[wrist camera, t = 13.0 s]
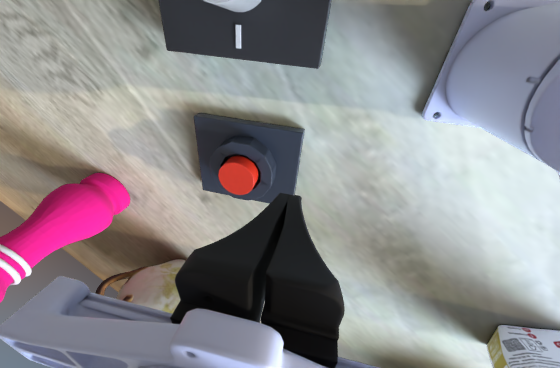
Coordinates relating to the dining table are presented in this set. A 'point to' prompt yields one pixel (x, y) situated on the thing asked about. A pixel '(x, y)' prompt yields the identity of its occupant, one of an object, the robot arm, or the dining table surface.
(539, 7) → the robot arm
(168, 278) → the sugar bowl
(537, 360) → the juice carton
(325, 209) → the dining table surface
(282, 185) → the button block
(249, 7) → the timer knob
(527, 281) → the dining table surface
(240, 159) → the power button
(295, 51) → the panel
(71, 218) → the pepper mill
